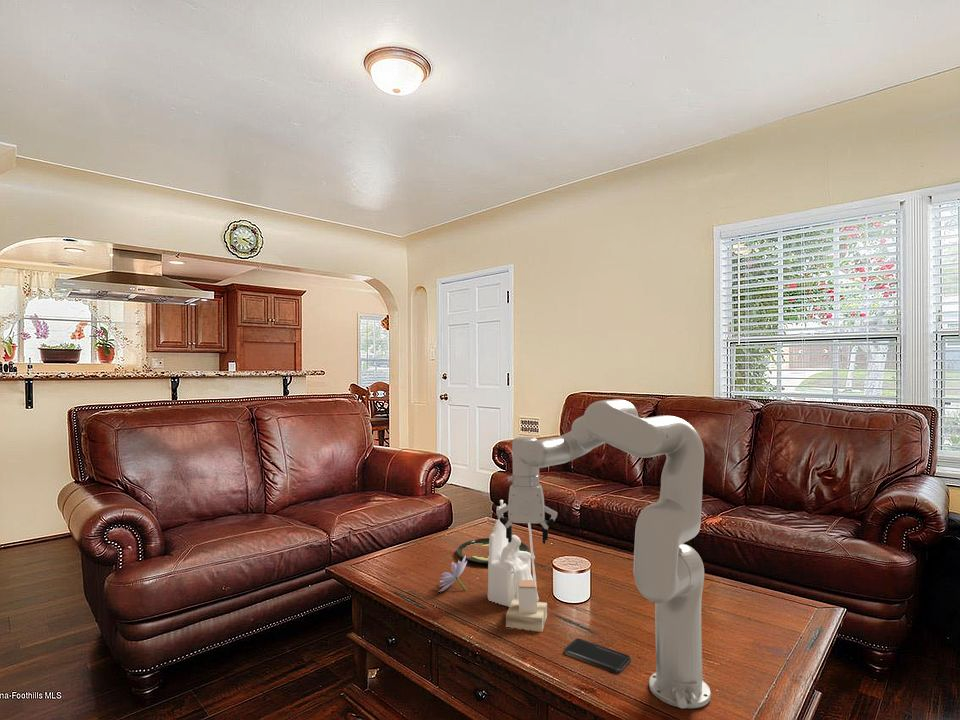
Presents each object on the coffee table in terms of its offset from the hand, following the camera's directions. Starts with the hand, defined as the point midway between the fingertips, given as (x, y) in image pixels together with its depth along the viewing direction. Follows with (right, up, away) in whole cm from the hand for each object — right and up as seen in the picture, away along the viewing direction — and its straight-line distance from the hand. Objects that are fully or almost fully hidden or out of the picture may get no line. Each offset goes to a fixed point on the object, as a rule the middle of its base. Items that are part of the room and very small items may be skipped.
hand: (527, 541), depth 148 cm
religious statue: (-1, -23, +15) cm, 27 cm away
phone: (+15, -22, -19) cm, 33 cm away
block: (0, -23, -1) cm, 23 cm away
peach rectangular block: (0, -19, -1) cm, 19 cm away
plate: (-8, -24, +54) cm, 59 cm away
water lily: (-22, -23, +23) cm, 40 cm away
